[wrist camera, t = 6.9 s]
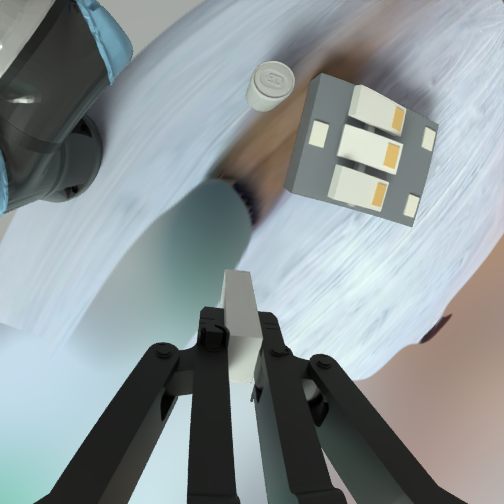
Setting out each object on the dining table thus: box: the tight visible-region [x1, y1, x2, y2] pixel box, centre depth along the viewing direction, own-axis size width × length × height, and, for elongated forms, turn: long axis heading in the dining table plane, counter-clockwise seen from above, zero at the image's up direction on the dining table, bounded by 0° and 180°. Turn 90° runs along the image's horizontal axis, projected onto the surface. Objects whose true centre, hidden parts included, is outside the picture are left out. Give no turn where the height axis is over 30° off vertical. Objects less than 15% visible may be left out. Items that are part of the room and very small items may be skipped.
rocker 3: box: [327, 165, 389, 212], centre depth 36 cm, size 8×4×2 cm, turn 75°
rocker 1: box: [348, 85, 406, 137], centre depth 33 cm, size 8×4×2 cm, turn 75°
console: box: [284, 73, 438, 227], centre depth 39 cm, size 20×17×7 cm
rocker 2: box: [336, 124, 403, 175], centre depth 35 cm, size 8×4×2 cm, turn 78°
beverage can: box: [246, 61, 295, 111], centre depth 34 cm, size 5×5×12 cm
